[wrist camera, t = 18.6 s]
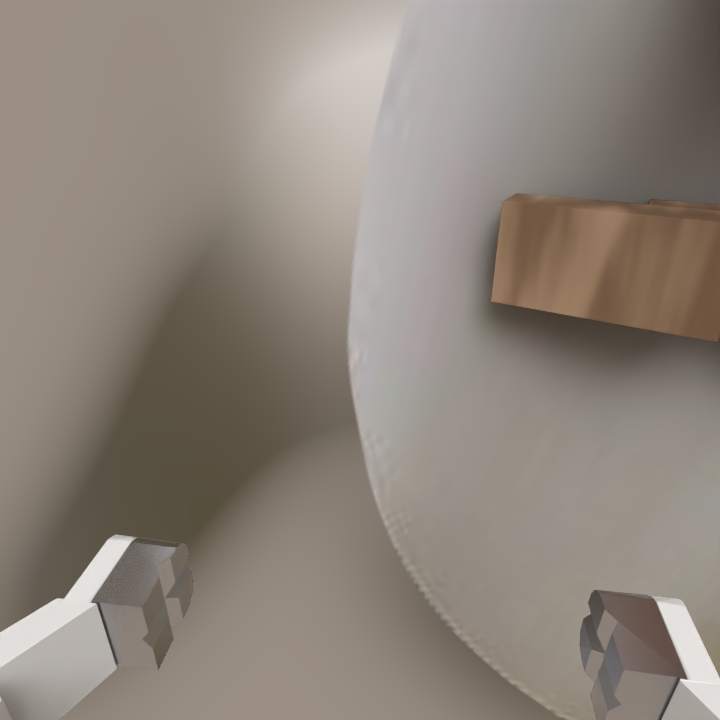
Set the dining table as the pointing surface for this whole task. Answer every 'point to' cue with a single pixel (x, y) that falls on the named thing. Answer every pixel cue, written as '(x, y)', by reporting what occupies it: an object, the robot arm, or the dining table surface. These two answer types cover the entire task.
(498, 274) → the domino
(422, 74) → the dining table surface
